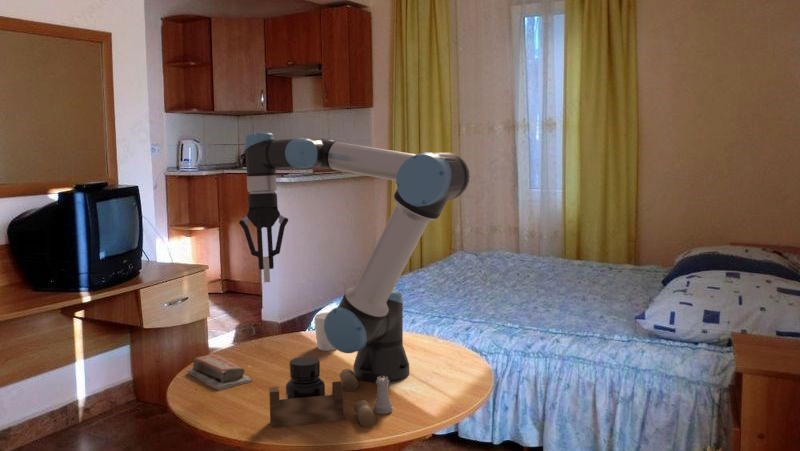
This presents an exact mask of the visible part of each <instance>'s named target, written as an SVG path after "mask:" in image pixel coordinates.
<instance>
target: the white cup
mask: <svg viewBox="0 0 800 451" xmlns="http://www.w3.org/2000/svg"><path fill="white" fill-rule="evenodd" d="M328 313H329V312H319V313H317V314H315V315H314V326H315V338H316V339H315V340H316V348H317V349H318V350H320V351H327V352H328V351H329V352H331V351H335V350H337V349H335V348H334V347H333V346H332V345H331V344H330V342H329V341H328V339H327V335H326V333H325V331H324V321H325V318H326V316H327V314H328Z"/></svg>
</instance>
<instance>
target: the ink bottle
mask: <svg viewBox="0 0 800 451" xmlns="http://www.w3.org/2000/svg"><path fill="white" fill-rule="evenodd" d="M320 364H321V361H320V358H318V357H316V356H315V357H314V356H307V355H306V356H305V355H304V356H299V357H294V358H292V359H290V361H289V377H290V380H288V381H287V382H286V384H285V399H292V398H303V397H314V396H325V395H326V392H325V391H326V386H325V382H324V380H323V379H322V378H320V374H321V370H320V367H321V365H320Z"/></svg>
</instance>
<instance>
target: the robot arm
mask: <svg viewBox="0 0 800 451" xmlns="http://www.w3.org/2000/svg"><path fill="white" fill-rule="evenodd" d="M274 136H275V135H274V133H271V132H253V133H247V134H246V135H245V138H244V154H245V164H246V165H245V166H246V188H247V192H249V193H248V194H247V205H248V210H247V212H246V216H245V217H244V218H242V219H240V220H239V221H238V222H239V223H238V224H239V225H240V226H241V228H242V229H243V232H244V234H245V238H246V242H247V245H248V249H249V251H250V254H251V256H253V257H257V259H258V268H259V270H263V282H264V283H271V276H270V275H271V274H270V273H271V272H270V270H272V269H274V257H275V256H276V255H279V254H280V252H281V247H282V243H283V242H282V241H283V239H284V232H285V227H286V225H287V224H288V222H289V219H288V217H285V216H283V215H282V214H281V213H280V211H279V207H278V206H279V205H278V193H276V192H275V191H277V188H278V187H277V186H278V185H277V170H281V169H282V170H285V169H289V170H292V169H295V170H296V169H297V170H300V169H302V170H303V169H307V168H308V169H309V168H311V169H312V168H322V169H326V170H327V169H328V170H335V171H338V172H339V171H340V172H345V173H351V174H357V175H362V176H368V177H373V178H378V179H384V180H389V181H394V182H395V183H396V187H397V188H396V190H395V192H394V194H393V200H394V203H395V207H394V209H393V211H392V213H391V215H390V216H389V219H388V221H387V223H386V225H385V227H384V229H383V231H382V232H381V235H380V237H379V239H378V240H377V242H376V245H375V247H374V249H373V250H372V252H371V254H370V257H369V259H368V261H367V262H366V265H365V267H364V268H363V270H362V272H361V274H360V276H359V278H358V280H357V283H356V285H355V286H352V287H348V288H347V289H346V291H345V292H344V295H343V296H342V299H341V300H340V303H339V304H338V305H337V307H334V308H332V309H331V310H330V311H329V312H327V313H328V314H327V316H326V318H325V321H324V331H325V333H326V335H327V339H328V341H329V342H330V344H331V345H332V346H333V347H334V348H335V349H336V350H337V351H339V352H341V353H344V354H354V353H356V356H355V360H354V363H353V368H352V369H353V370H352V371H353V373H354V375H355V377H356V379H359V380H362V381H366V382H371V383H376V380H377V377H379V376H381V378H383V376H385V378H386V376H387V377H388V380H389V381H390V382H394V380H396V381H399V379H400V380H401V379H402V380H403V379H405V378H406V377H408V376H409V375H410V362H409V359H408V357H407V354H406V351H405V347H404V344H403V343H404V341H403V339H404V338H403V337H404V336H403V335H404V334H403V333H404V330H403V328H404V327H403V326H404V323H403V322H404V321H403V320H404V318H403V316H404V315H403V312H404V311H403V306H404V302H403V295H402V293H401V292H400V291H399V290H396V289H394V288H395V287H396V285H397V283H398V281H399V280H400V277H401V275H402V274H403V272H404V270H405V268H406V266H407V264H408V262H409V260H410V259H411V257H412V255H413V252H414V250H416V247H417V245H418V244H419V241H420V239H421V238H422V236H423V234H424V232H425V231H426V228H427V226H428V224H429V222H432V221H436V220H438V218H440V215H441V213H442V212H443V209H444V208H445V207H446V204H447V202H448V201H452V200H455V199H457V198H459V197H460V196H461V195H462V194H464V193H465V191H466V190H467V187H468V186H469V182H470V177H471V176H470V169H469V167H468V165H467V163H466V161H465V160H464V159H463V158H462V157H461V156H459V155H457V154H455V153H452V152H445V151H444V152H432V151H423V152H420V153H409V152H405V151H404V152H403V151H399V150H398V151H397V150H390V149H384V148H377V147H372V146H367V145H359V144H353V143H352V144H351V143H347V142H341V141H335V140H332V139H329V138H328V139H327V138H315V139H311V138H306V137H295V138H287V139H285V138H284V139H275V137H274ZM249 221H250V222H251V224H252V225H253V226H254V227H255V228H256V232H257V233H256V238H257V250H256V247H255V245H254V241H253V238H252V235H251V232H250V228H249V225H250V222H249ZM277 221H278V223H279V224H280V225H279V227H278V228H279V229H278V232H277V233H278V234H277V239H276V244H275V249H274V248H273V228H272V227H273V226H274V225H275V223H276V222H277ZM263 228H266V232H267V233H266V234H267V253H268V256H267V255H266V256H264V248H263V230H262V229H263Z"/></svg>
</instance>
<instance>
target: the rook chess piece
mask: <svg viewBox="0 0 800 451" xmlns="http://www.w3.org/2000/svg"><path fill="white" fill-rule="evenodd" d="M390 382H391V381H389V380H388V377H387V376H386V378H385V376H383V378H381V376H379V377H377V380H376V382H375V383H376V385H377V387H376V390H377V392H376V399H375V401H374V403H373V409H372V411H373V413H374V414H378V415H387V414H391V413H392V411H393V403H392V402H391V400H390V397H389V384H390Z"/></svg>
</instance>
